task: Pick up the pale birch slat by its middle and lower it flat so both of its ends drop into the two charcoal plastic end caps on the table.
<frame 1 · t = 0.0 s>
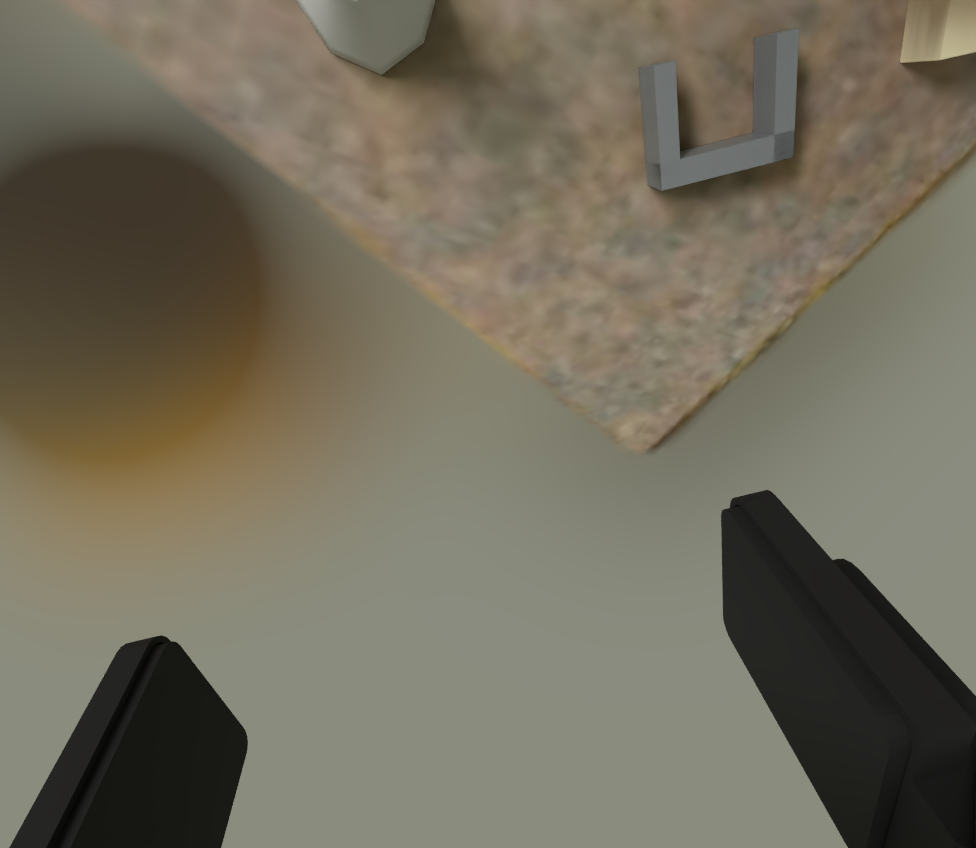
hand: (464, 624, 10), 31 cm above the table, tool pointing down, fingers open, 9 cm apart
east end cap: (708, 112, 35), on the table
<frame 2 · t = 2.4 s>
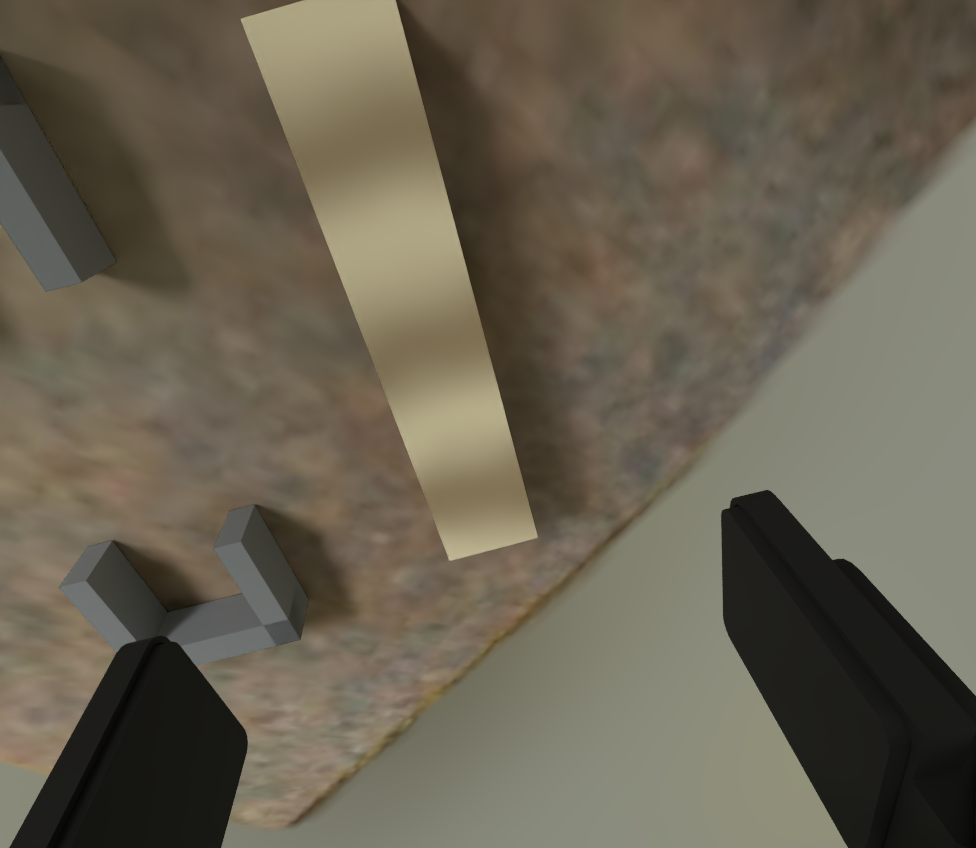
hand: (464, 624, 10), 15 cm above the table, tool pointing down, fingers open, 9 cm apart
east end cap: (204, 574, 28), on the table
birch slat: (425, 311, 23), on the table
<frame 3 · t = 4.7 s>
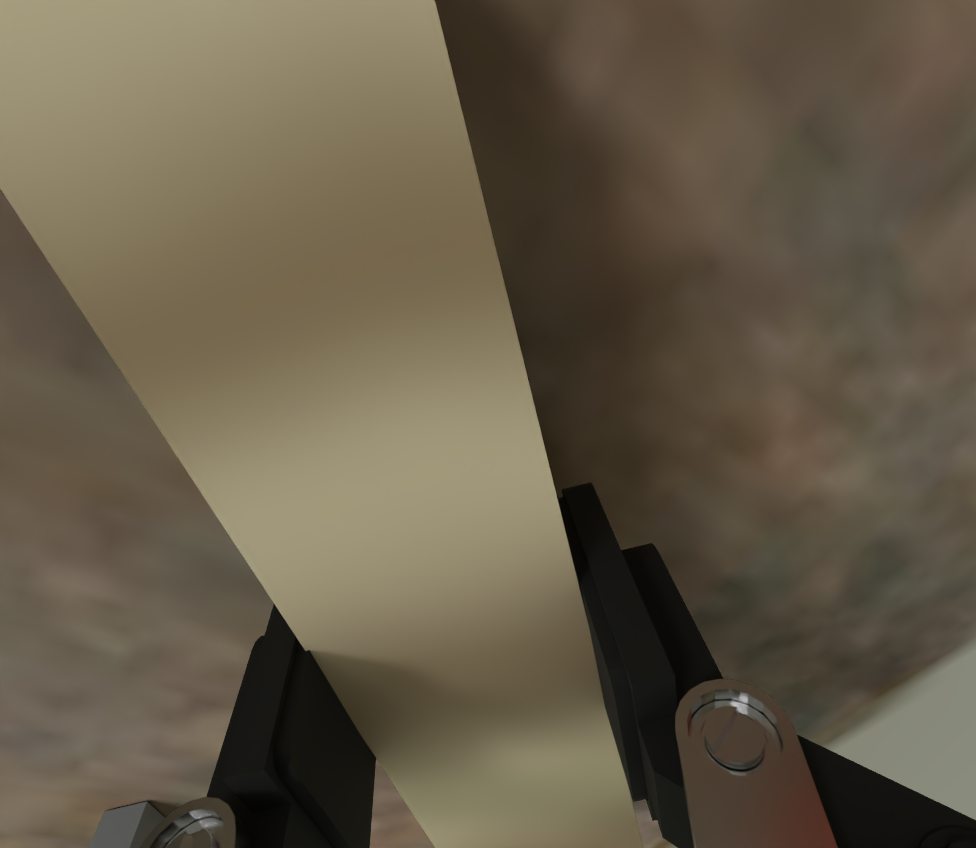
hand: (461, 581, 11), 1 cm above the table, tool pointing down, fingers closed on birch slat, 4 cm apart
birch slat: (457, 532, 12), on the table, touching gripper
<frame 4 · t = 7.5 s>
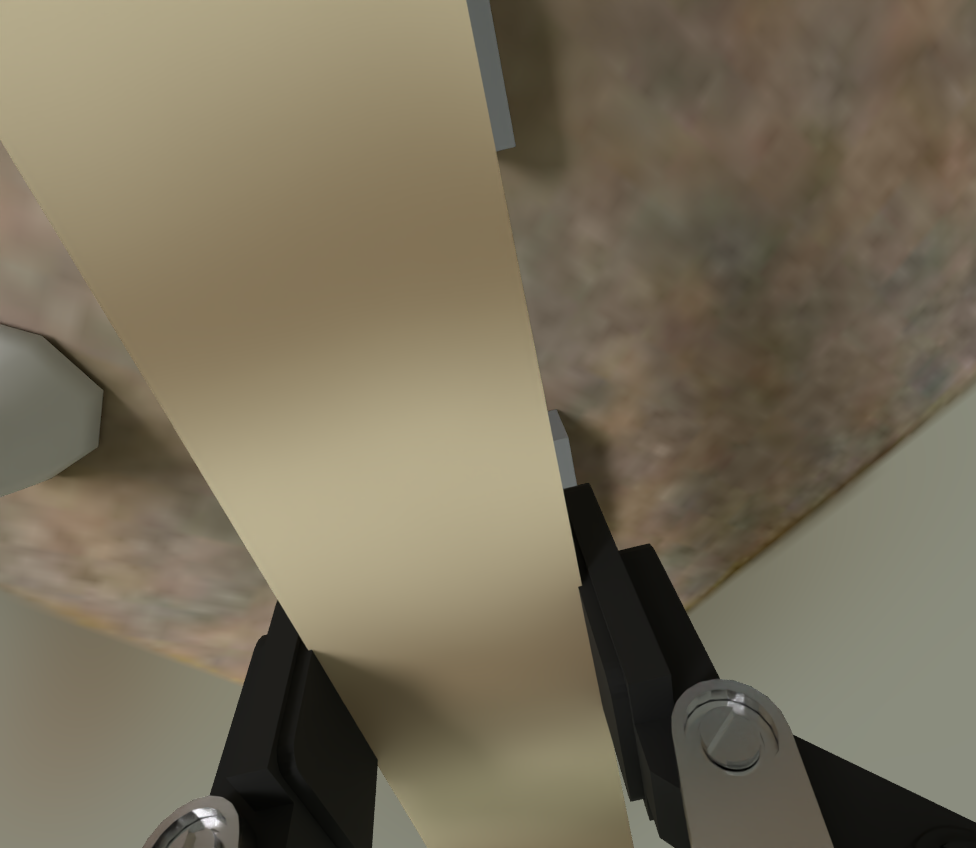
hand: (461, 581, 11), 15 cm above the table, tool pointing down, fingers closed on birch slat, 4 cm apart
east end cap: (487, 484, 28), on the table
flask: (14, 396, 24), on the table
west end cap: (369, 65, 19), on the table
birch slat: (457, 531, 12), point 14 cm above the table, touching gripper
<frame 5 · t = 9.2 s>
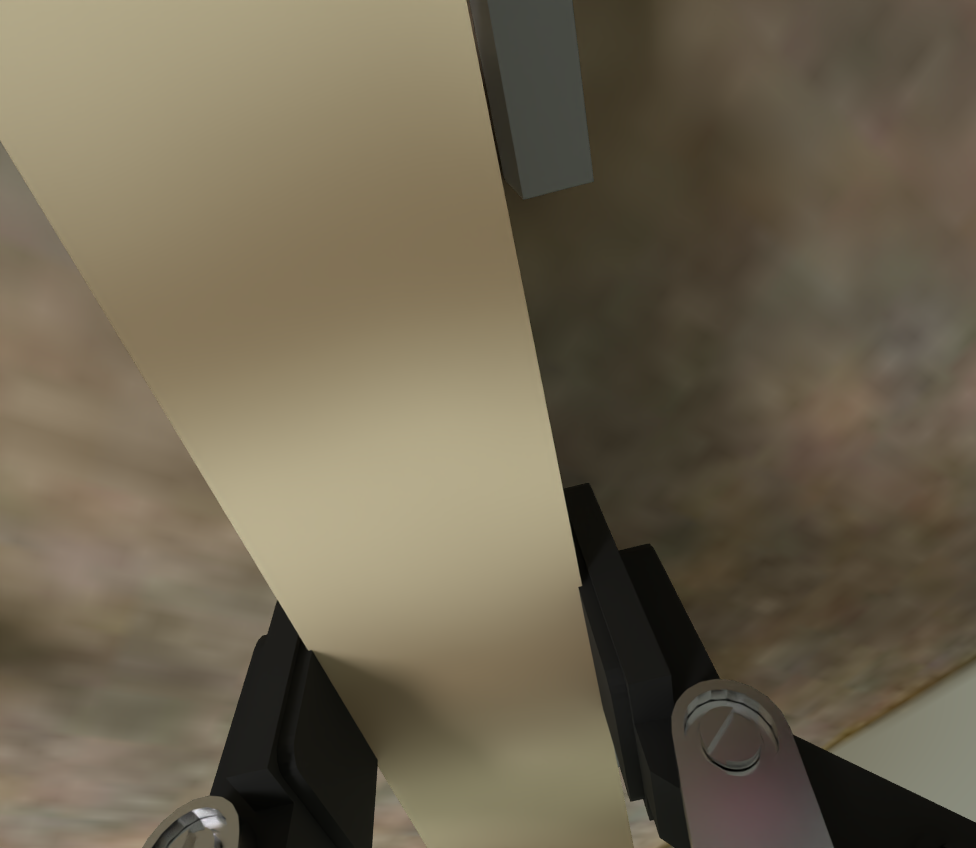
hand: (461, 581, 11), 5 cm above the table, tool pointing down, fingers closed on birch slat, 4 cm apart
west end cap: (311, 25, 10), on the table
birch slat: (457, 532, 12), point 3 cm above the table, touching gripper
when the fingers open (3 cm above the table, at t = 10.4 s): birch slat drops 2 cm, on the table.
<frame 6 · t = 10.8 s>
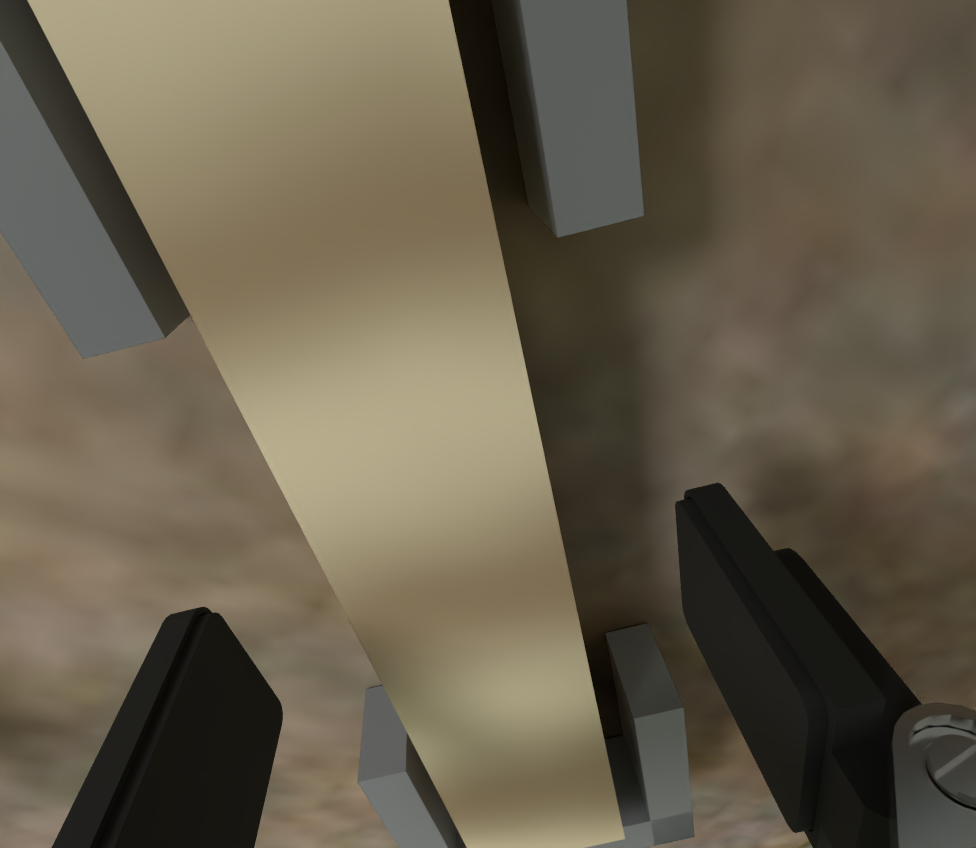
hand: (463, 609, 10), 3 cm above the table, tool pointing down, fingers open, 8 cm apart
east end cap: (528, 723, 17), on the table
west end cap: (302, 27, 8), on the table
birch slat: (452, 484, 13), on the table
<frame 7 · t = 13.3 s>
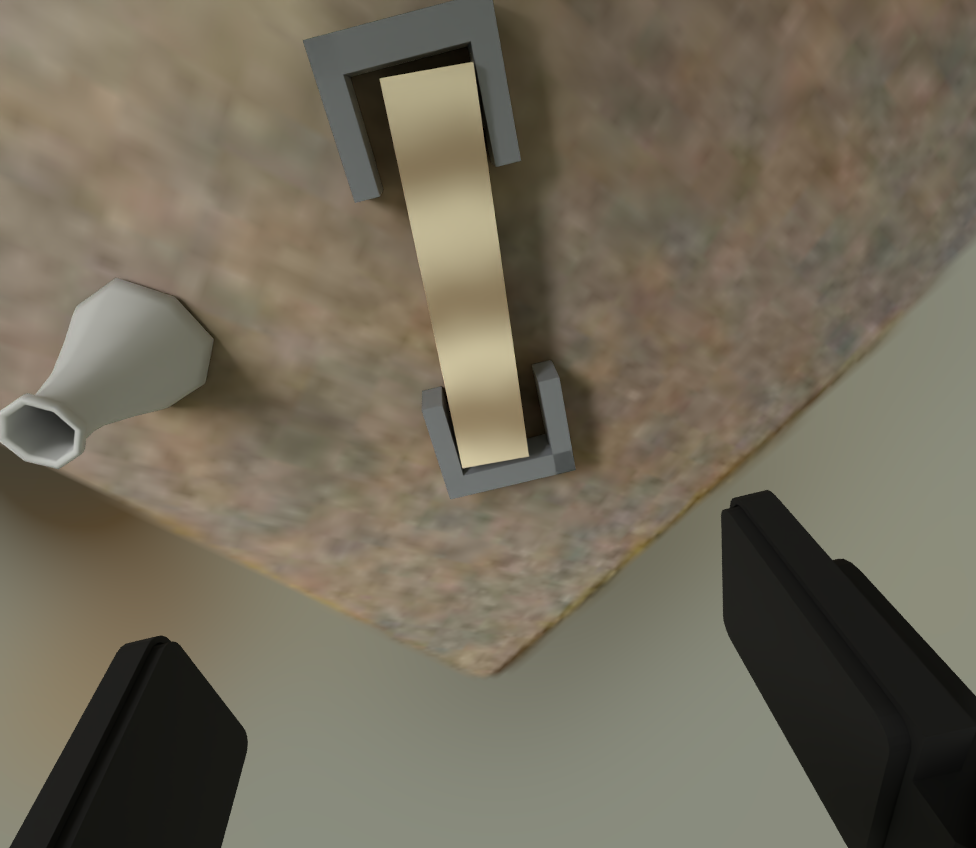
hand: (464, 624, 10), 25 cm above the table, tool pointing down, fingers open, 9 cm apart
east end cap: (497, 421, 36), on the table
flask: (147, 343, 32), on the table
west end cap: (419, 104, 27), on the table
birch slat: (463, 281, 32), on the table
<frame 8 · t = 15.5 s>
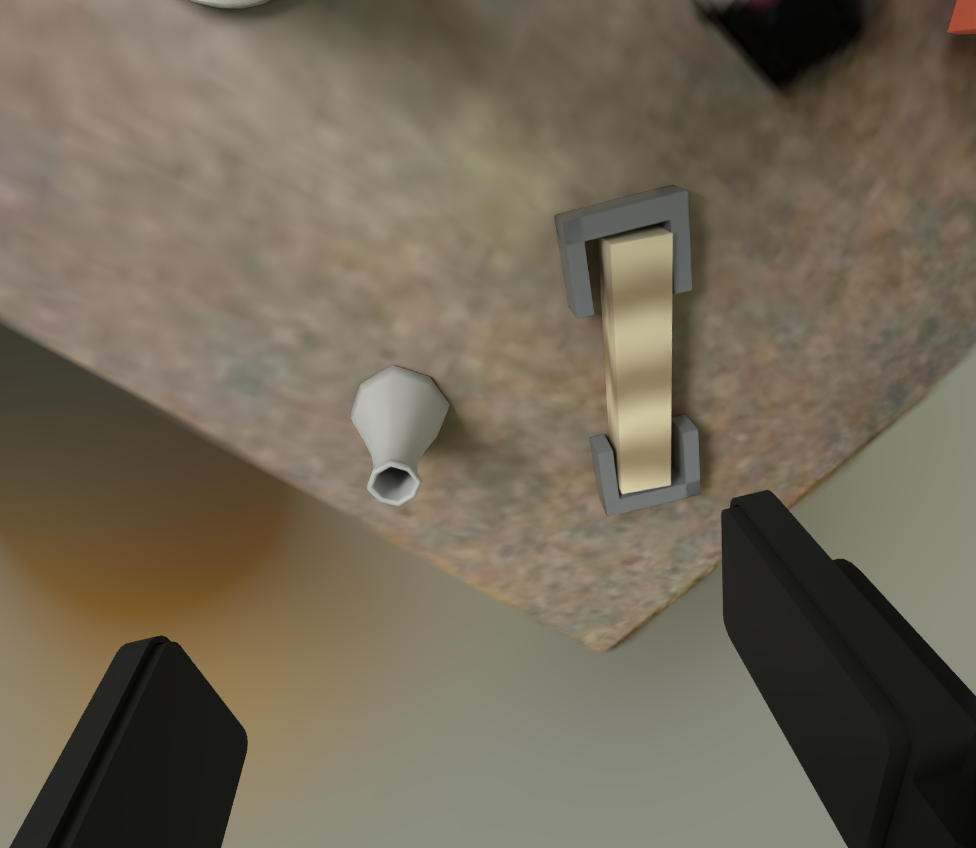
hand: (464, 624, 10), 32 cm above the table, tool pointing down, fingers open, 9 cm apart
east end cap: (640, 457, 48), on the table
flask: (400, 407, 44), on the table
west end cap: (618, 248, 39), on the table
birch slat: (629, 360, 44), on the table
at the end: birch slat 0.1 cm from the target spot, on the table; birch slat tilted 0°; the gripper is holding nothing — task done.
